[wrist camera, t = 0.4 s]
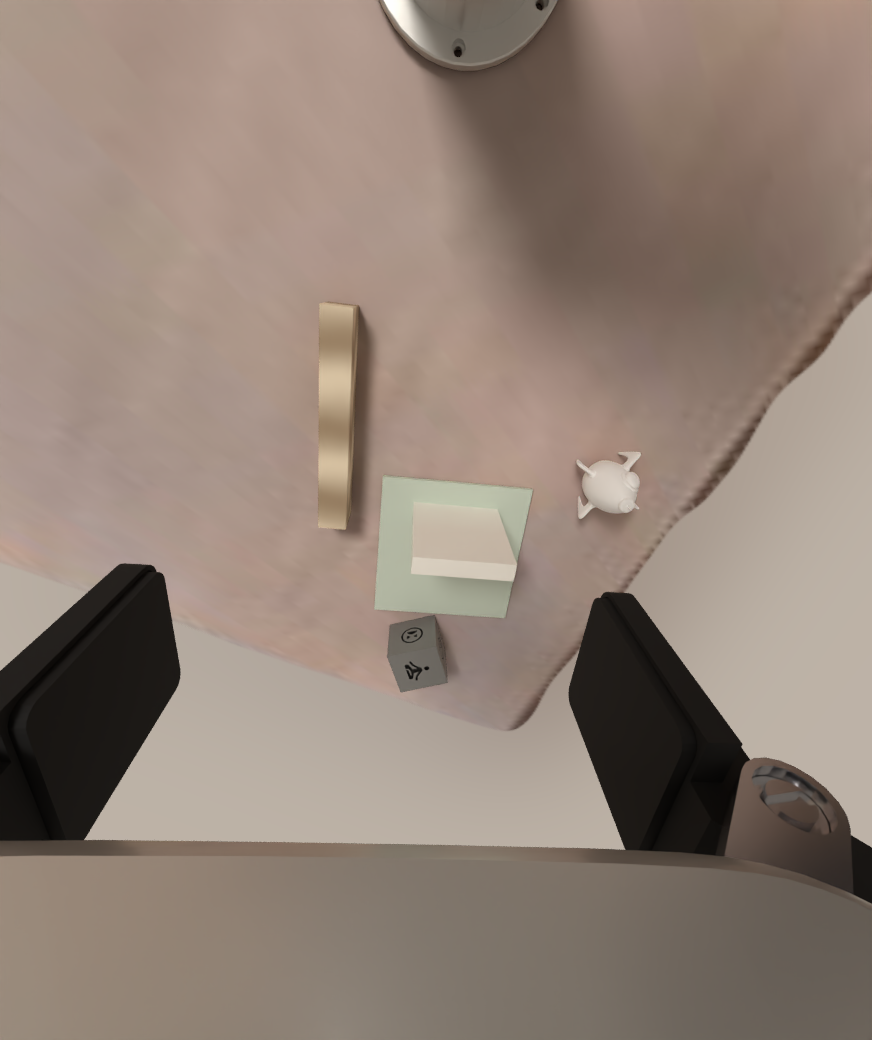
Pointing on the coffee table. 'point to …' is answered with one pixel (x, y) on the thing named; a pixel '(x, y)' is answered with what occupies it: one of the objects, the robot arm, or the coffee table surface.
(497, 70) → the coffee table surface
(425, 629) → the dice cube
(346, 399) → the tan wavy bar
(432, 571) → the cream tile
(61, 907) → the robot arm
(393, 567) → the sage mat
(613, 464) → the rocket toy
